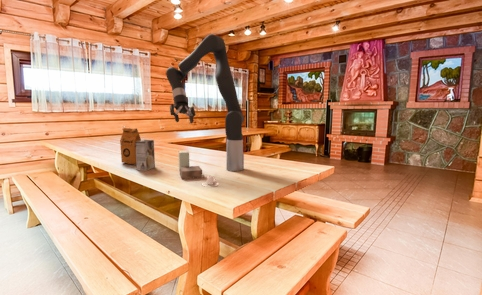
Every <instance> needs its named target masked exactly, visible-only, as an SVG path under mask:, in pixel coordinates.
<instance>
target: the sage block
mask: <svg viewBox="0 0 482 295" xmlns="http://www.w3.org/2000/svg"><path fill="white" fill-rule="evenodd" d="M180 167H190V152H189V151H188V150H182V151H181V150H180V151H178V169H179V171H178V172H180Z"/></svg>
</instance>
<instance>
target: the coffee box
mask: <svg viewBox="0 0 482 295" xmlns="http://www.w3.org/2000/svg"><path fill="white" fill-rule="evenodd" d="M135 146H136V163H137V165H136V171H144V172H145V171H149V170H151V169H153V168H155V167H156V160H155V139H143V140H142V139H141V141H137V142H135Z"/></svg>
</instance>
